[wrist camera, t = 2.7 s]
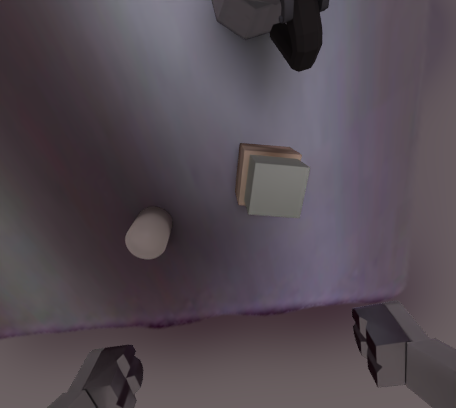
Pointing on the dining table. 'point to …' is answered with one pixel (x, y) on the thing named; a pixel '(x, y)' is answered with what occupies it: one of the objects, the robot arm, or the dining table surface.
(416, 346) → the robot arm
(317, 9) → the coffee maker
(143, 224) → the grey rounded cylinder
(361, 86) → the dining table surface
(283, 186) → the tower top
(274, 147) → the tower base
